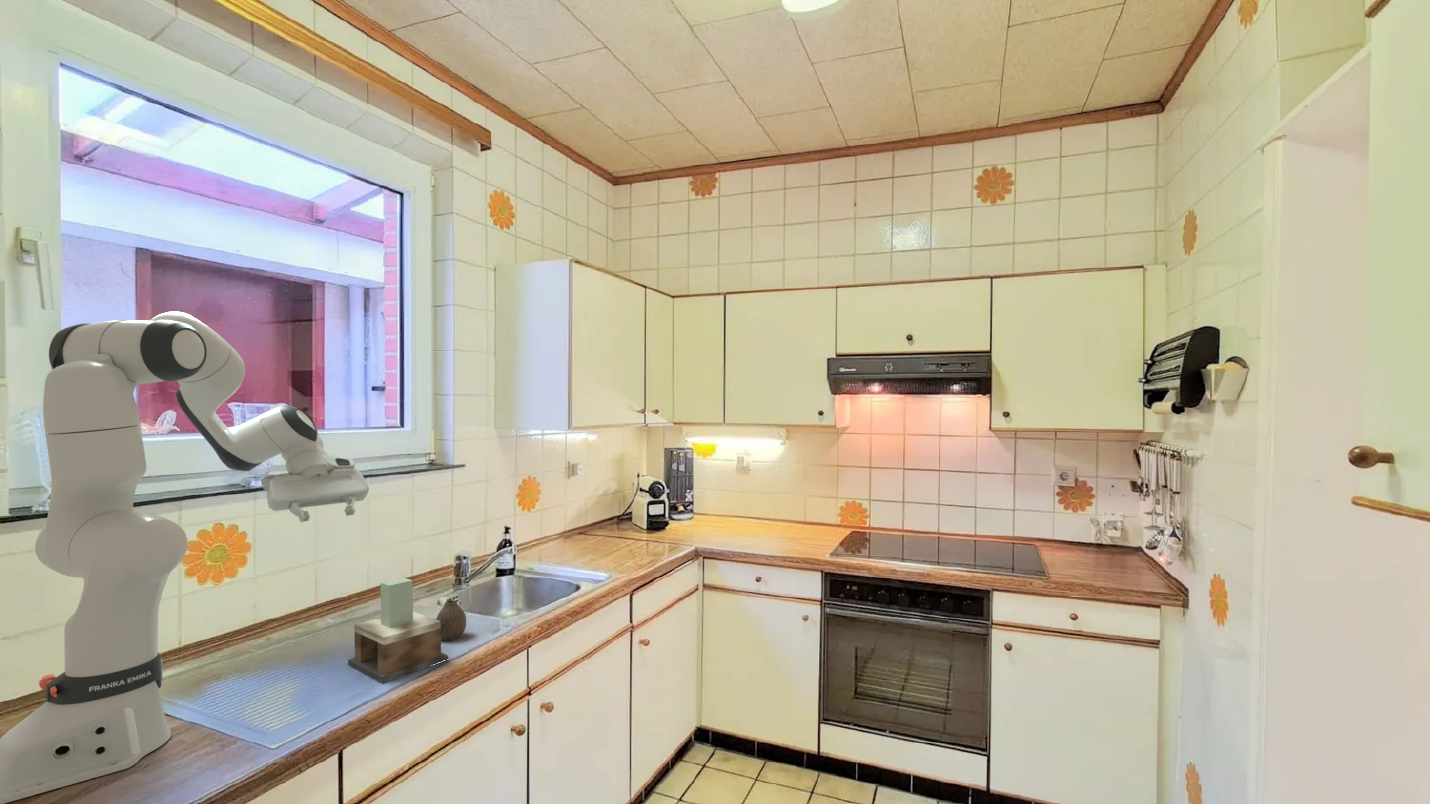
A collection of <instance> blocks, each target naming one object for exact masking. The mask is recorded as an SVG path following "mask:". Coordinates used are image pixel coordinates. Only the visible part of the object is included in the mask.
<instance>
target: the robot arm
mask: <svg viewBox="0 0 1430 804" xmlns="http://www.w3.org/2000/svg"><path fill="white" fill-rule="evenodd" d="M48 348H49V350H48V360H49V364H50V366H51V370H50V371H49V372H48V373H47V375H46V377H45V380H44V381H45V382H44V389H43V398H42V406H43V407H42V413H43V414H42V416H43V429H44V434H45V435H44V436H45V443H46V449H47V455H48V463H49V471H50V477H51V493H50V498H49V499H50V500H49V506H48V510H47V511H48V513H47V518H46V523H45V527H44V528H43V529H42V530H41V531H40V532H39V534H38V535H37V538H36V540H35V545H34V546H35V547H34V548H35V550H34V551H35V555H36V557H37V558H38V560H39V561H40V563H41V564H43V566H45V567H47V568H49V569H50V570H52V571H54V572H56V573H58V574H60V575H63V576H66V577H72V578H79V579H80V578H81V579H82V580H83V589H82V592H81V597H80V599H79V602H78V605H77V607H76V609H75V611H74V613H73V615H71V616H70V617H69V618H68V619H67V621H66V623H65V625H64V629H63V630H64V636H63V637H64V641H63V642H64V644H63V645H64V671H63V672H61V674H59V675H58V676H57V675H55V674H52V673H50V674H46V675H43V676H42V677H41V679H39V680H38V681H39V682H38V684H39V685H38V686H39V687H40V689H41V690H43V691H45V699H46V701H45V702H44V703H42V705H41V706H39V707H38V708H37V709H36V710H35V711H33V712H31V714H29V715H28V716H26V717H25V718H24V719H23V720H21V721H20V722H19V723H17V724H16V725H14V727H12V728H10V730H8V731H7V732H5V733H4V734H3V735H2V737H1V738H0V804H7V803H10V802H14V801H17V800H18V801H19V800H21V799H25V798H29V797H32V796H35V795H38V794H43V793H46V792H49V791H53V790H56V789H59V788H64V787H67V786H69V785H74V784H77V783H80V782H85V781H88V780H92V779H94V778H95V779H96V778H98V777H101V776H105V775H109V774H114V773H115V772H120V771H124V770H126V769H128V768H131V767H132V766H134V765H135V764H137V763H139V761H140V760H141V759H142V758H143V757H145V756H146V755H148V754H149V753H152V752H153V751H155V750H156V749H158V748H160V747H161V746H163V745H165V743H167V741H168V740H169V739H170V738H171V737H172V730H171V729H170V728H171V727H170V726H169V723H168V721H167V718H166V715H165V710H164V706H163V701H162V695H161V687H162V681H163V659H162V654H161V653H160V652H159V647H158V646H159V644H158V643H159V641H158V640H159V631H158V630H159V612H160V611H159V610H160V605H161V604H160V603H161V599H162V596H163V592H164V589H165V586H166V584H167V580H168V577H169V575H170V574H171V572H172V571H173V570H175V568H176V567H178V565H180V563H181V562H182V561H183V560H184V557H185V556H186V553H187V549H188V537H187V534H186V532H185V529H184V528H182V526H181V525H179V524H178V523H176V522H175V521H172V520H170V519H168V518H165V517H163V516H160V515H157V514H154V513H149V512H135V511H134V502H135V501H134V498H135V494H136V489H137V487H138V486H137V485H138V484H139V482H140V480H141V479H142V478H143V476H145V473H146V471H147V462H146V461H147V459H146V453H145V447H144V441H143V440H144V439H143V433H142V426H141V420H140V415H139V414H140V413H139V409H138V406H137V402H136V398H135V396H134V395H135V394H134V392H135V389H136V387H137V385H146V384H154V383H160V382H177V383H178V385H179V388H178V389H177V390H176V392H175V397H176V400H177V403H178V406H179V407H180V409H181V411H182V413H183V414H184V415H185V416H186V418H187V419H188V420H189V422H190V423H191V424H192V425H193V426H194V427H195V429H196V430H197V432H198V433H200V434H201V436H202V437H203V438H204V439H205V440H206V442H207V443H208V444H209V445H210V447H211V448H212V449H213V451H214V452H215V453H216V455H217V457H218V458H219V460H220V462H222V463H223V465H225V467H227V469H230V470H235V471H240V472H249V471H251V470H253V469H254V468H256V467H257V466H259V465H261V464H263V463H264V462H266V461H268V460H270V459H273V458H274V457H276V456H278V455H281V458H282V459H283V460H284V461H285V469H286V472H287V473H279V474H268V475H267V476H265V477H263V478H262V479H261V482H260V483H261V486H262V489H264V491H265V492H266V500H267V506H268V508H269V509H271V510H272V511H274V512H278V511H285V510H287V511H288V510H289V511H290V513H291V514H293V515H295V516H296V517H298V519H299V522H300V523H304V522H308V521H309V520H310V517H311V516H310V514H309V511H308V510H303V508H312V507H320V506H327V505H337V504H346V506H345V508H344V513H345V516H347V517H349V516H354V515H355V512H356V509H355V506H354V505H355V502H361V501H364V500H365V499H366V497H367V496H368V493H369V489H370V487H369V485H368V483H367V481H366V479H365V477H364V475H363V473H362V472H361V471H360V470H358V469H357V468H355V466H356V463H355V461H354V460H353V459H349V458H344V457H343V458H342V457H339V456H338V457H337V456H333V455H330V454H329V455H328V453H327V452H326V451H325V449H324V442H323V440H322V437H321V436H320V433H319V432H318V430H317V427H316V425H315V423H314V421H313V420H312V418H311V417H310V415H309V414H308V413H306V412H305V411H304V410H303V409H301V408H299V407H295V406H292V405H289V404H282V405H278V406H277V407H274V408H272V409H270V410H267V411H265V412H263V413H261V414H260V415H258V416H255V417H253V418H251V419H249V420H247V421H245V422H243V423H241V424H238V425H234V426H227V425H226V424H225V423H224V422H223V420H222V419H221V417H220V416H219V415H218V414H217V413H216V411H217V410H218V409H219V408H220V407H221V406H222V404H224V402H226V401H227V400H228V399H229V398H231V397H232V396H233V395H234V394H235V393H236V392H238V390H239V389H240V387H241V386H242V383H243V382H244V378H245V377H246V366H245V365H246V364H245V362H244V360H243V358H242V357H241V355H240V354H239V353H238V352H237V350H236V349H235V348H234V347H233V346H232V345H231V344H230V343H228V342H227V340H225V339H224V338H223V336H221V335H220V334H219V333H217V332H216V331H215V330H213V329H212V328H211V327H210V326H208V325H207V324H205V323H204V322H202V321H201V320H199V319H198V318H196V317H194V316H192V315H191V314H188V313H186V312H181V311H167V312H164V313H159V314H158V315H156V316H153V317H152V318H150V319H149V320H130V319H118V320H108V321H107V320H106V321H100V322H94V323H93V322H84V323H79V324H75V325H70V326H68V327H65V328H63V329H61V330H59V331H58V332H56V334H55V335H54V336H53V338H52V340H51V341H50V345H49V347H48Z"/></svg>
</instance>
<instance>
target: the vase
mask: <svg viewBox="0 0 1430 804" xmlns="http://www.w3.org/2000/svg"><path fill="white" fill-rule="evenodd" d="M435 618H436V620H438V621H441V641H446V642H450V641H455V640H458V639H460V638H461V636H463V634H464V633H465V630H466V627H467V615H466V613H465V611H464V609H463V608H462V607H461V606H460V605H459V604H458V603H457V600H455V599H451V600H447V601H445V603H444V604H443V606H442V608H441V609H440V611H439V612H438V613H437V616H436V617H435Z"/></svg>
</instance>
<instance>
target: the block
mask: <svg viewBox="0 0 1430 804" xmlns="http://www.w3.org/2000/svg"><path fill="white" fill-rule="evenodd" d="M413 590H414V589H413V579H409V578H406V577H401V578H395V579H391V580H388V581H383V582H380V618H381V625H384V626H386V627H389V628H391V627H395V626H399V625H402V624H406V623H409V622H413V611H414V603H413V601H414V600H413V599H414V596H413V595H414V594H413V592H414V591H413Z"/></svg>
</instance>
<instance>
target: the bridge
mask: <svg viewBox="0 0 1430 804" xmlns="http://www.w3.org/2000/svg"><path fill="white" fill-rule="evenodd" d="M353 627H354V657H351V658H349V659H347V666H349V667H350V668H352V669H355V670H357V671H359V672H360V673H362V674H364V675H366V676H367V675H368V676H367V677H369V676H370V677H369V678H371V677H372V678H371V679H373V680H375V679H376V680H377V682H378V681H379V683H380V682H381V683H380V684H384V683H383V682H385V683H386V681H388V682H390V681H392V680H391V679H393V680H395V679H394V678H396V679H398V678H397V677H399V678H401V677H400V676H402V677H404V676H403V675H405V676H408V675H410V673H411V674H413V672H414V673H416V672H415V671H417V672H419V671H418V670H420V671H421V669H422V670H424V669H423V668H425V669H427V668H426V667H428V668H430V667H429V666H431V665H433V664H436V663H438V662H441V661H443V660H447V659H448V660H449V655H448V654H446V653H444V652H442V639H441V621H438V620H436V619H435V618H433V617H430V616H427V615H424V614H423V613H418V612H416V611H415V610H413V622H409V623H406V624H402V625H399V626H395V627H391V628H389V627H386V626H384V625H381V617H378V618H374V619H370V620H366V621H362V622H358V623H355V624H354V625H353ZM431 667H432V666H431ZM376 680H375V681H376ZM389 680H390V681H389Z"/></svg>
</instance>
